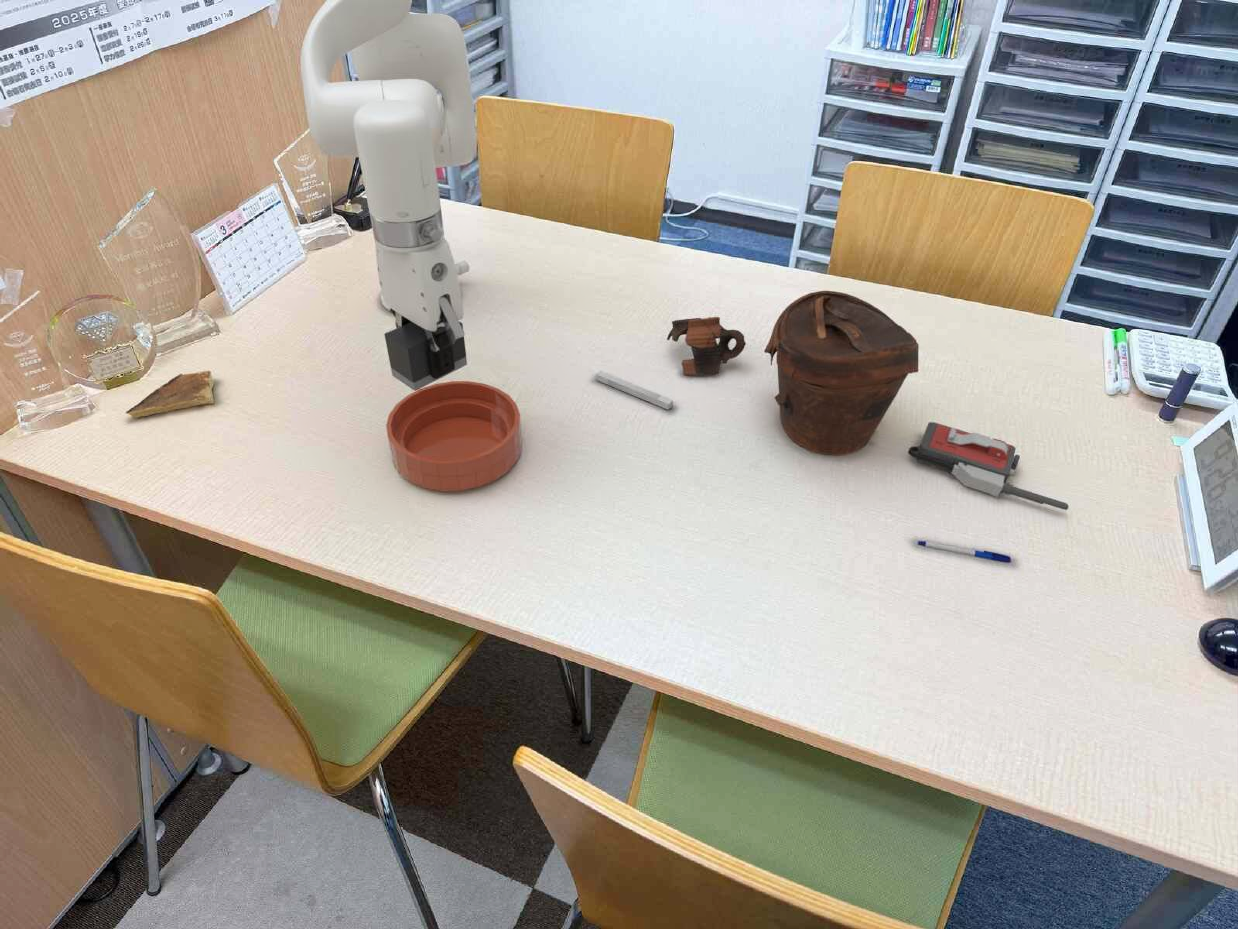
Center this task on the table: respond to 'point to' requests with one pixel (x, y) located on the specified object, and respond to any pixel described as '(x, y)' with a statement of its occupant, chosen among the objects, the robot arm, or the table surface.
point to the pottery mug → (706, 344)
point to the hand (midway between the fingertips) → (429, 363)
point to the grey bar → (635, 390)
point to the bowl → (454, 435)
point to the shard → (177, 394)
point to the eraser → (417, 354)
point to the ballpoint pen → (967, 551)
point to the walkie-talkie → (974, 461)
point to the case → (838, 369)
